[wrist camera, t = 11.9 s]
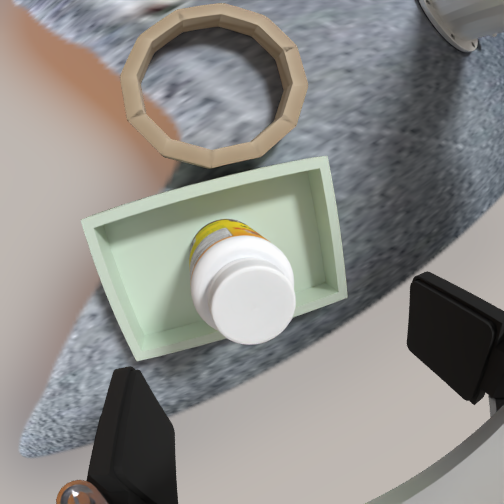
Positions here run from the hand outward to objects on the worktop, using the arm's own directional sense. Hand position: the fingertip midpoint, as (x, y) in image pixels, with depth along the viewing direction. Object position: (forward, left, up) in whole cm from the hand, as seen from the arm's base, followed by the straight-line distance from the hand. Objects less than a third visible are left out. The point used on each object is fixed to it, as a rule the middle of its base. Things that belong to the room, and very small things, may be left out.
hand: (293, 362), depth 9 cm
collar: (-2, -13, -15) cm, 20 cm away
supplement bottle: (0, 0, -15) cm, 15 cm away
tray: (0, 0, -15) cm, 15 cm away
